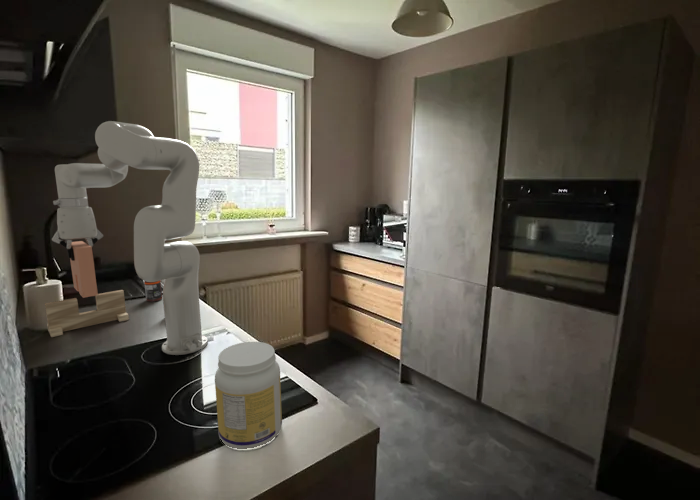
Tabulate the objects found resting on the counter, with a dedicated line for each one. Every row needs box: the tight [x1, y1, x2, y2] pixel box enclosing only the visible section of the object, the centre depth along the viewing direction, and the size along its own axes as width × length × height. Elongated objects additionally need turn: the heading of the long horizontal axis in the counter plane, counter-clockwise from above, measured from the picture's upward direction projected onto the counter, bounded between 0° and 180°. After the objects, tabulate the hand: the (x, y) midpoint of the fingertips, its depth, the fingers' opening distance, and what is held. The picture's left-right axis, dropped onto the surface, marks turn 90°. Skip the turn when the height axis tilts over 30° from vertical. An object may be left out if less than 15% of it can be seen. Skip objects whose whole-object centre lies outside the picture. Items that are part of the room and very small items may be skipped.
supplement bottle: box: [143, 280, 163, 303], centre depth 156 cm, size 6×6×11 cm
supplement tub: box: [214, 341, 283, 449], centre depth 73 cm, size 12×12×17 cm
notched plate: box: [69, 240, 99, 299], centre depth 127 cm, size 16×4×16 cm, turn 44°
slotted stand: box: [44, 289, 130, 338], centre depth 130 cm, size 8×22×10 cm, turn 134°
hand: (81, 258), depth 126 cm, fingers closed on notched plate, 4 cm apart
